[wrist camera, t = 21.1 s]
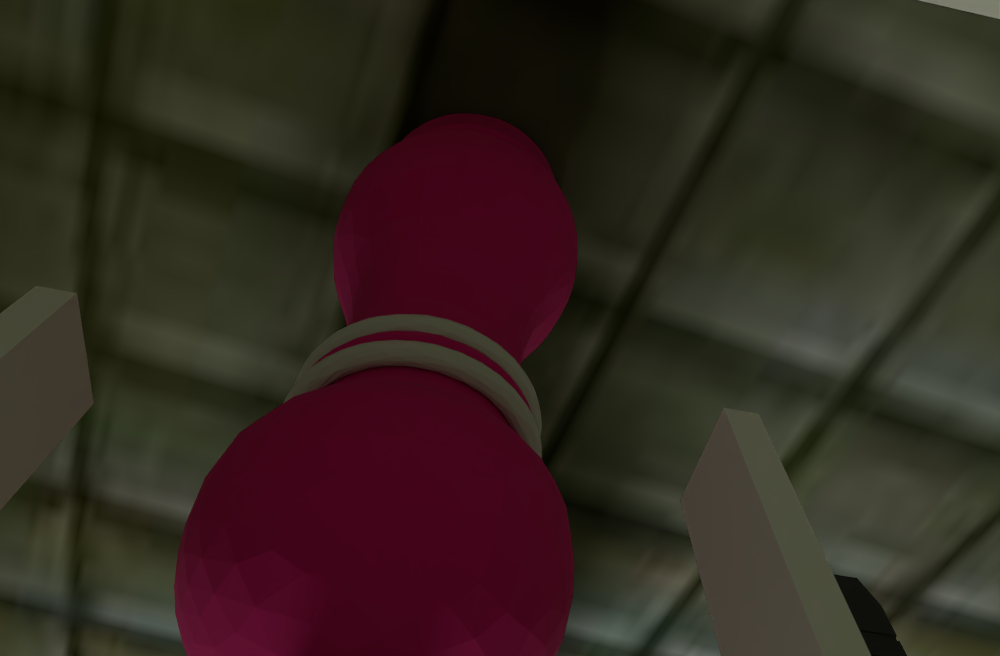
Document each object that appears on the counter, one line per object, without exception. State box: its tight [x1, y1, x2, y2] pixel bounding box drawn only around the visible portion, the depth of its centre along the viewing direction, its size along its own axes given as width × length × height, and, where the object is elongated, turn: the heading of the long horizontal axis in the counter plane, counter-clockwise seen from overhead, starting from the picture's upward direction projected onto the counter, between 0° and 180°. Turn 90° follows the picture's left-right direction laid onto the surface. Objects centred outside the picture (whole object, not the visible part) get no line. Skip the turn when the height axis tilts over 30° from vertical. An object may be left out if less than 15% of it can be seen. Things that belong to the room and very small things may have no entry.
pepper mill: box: [174, 113, 578, 656], centre depth 16 cm, size 7×7×20 cm
